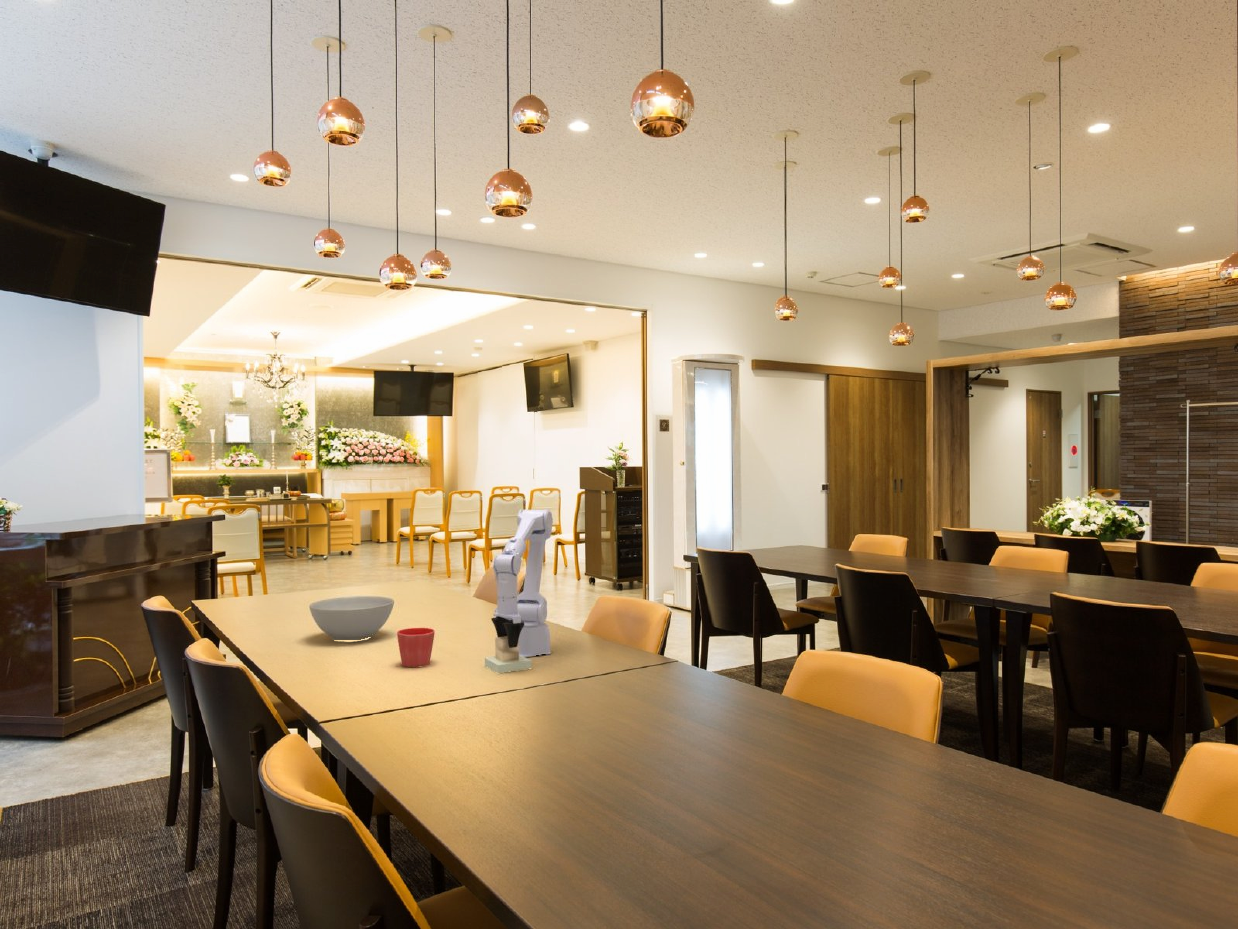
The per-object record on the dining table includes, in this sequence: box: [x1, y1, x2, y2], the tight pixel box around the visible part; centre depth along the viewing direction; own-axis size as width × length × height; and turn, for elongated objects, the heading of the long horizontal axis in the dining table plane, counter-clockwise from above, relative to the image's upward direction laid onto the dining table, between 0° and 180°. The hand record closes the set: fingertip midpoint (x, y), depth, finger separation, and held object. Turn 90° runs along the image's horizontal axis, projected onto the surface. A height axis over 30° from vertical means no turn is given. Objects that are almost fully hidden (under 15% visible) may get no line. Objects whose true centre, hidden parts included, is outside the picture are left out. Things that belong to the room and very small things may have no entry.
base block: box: [484, 655, 532, 674], centre depth 230 cm, size 10×10×3 cm
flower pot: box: [396, 627, 435, 668], centre depth 235 cm, size 11×11×10 cm
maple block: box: [494, 636, 519, 662], centre depth 230 cm, size 5×5×6 cm
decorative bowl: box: [309, 595, 395, 640], centre depth 271 cm, size 27×27×12 cm
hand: (507, 644), depth 230 cm, fingers open, 7 cm apart
